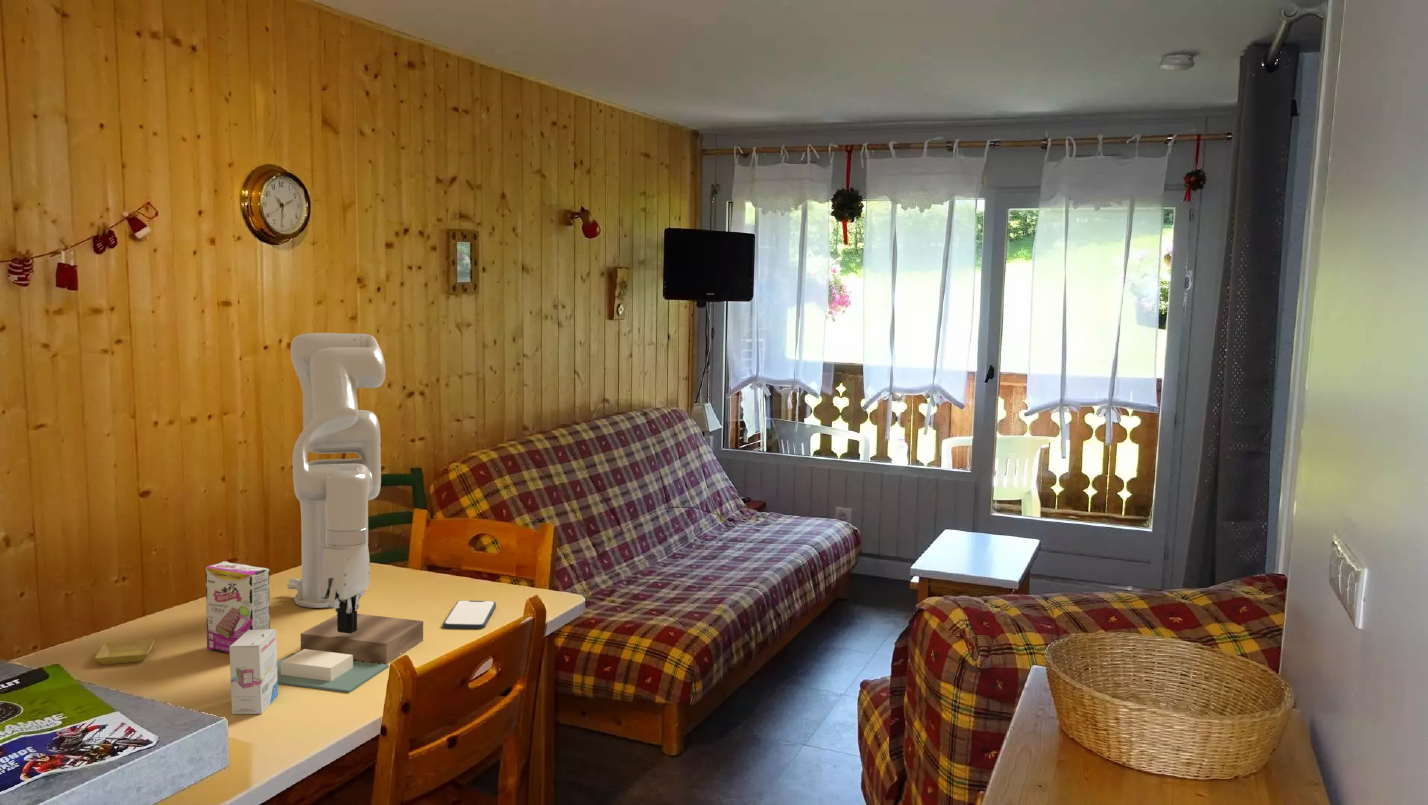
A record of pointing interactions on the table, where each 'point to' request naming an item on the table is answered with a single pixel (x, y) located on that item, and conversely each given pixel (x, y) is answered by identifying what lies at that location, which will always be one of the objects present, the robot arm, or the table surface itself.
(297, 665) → the tile
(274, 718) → the table surface
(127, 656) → the yellow square dish
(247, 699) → the ink box
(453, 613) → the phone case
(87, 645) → the table surface
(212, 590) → the candy bar box
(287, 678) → the mat
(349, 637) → the block
